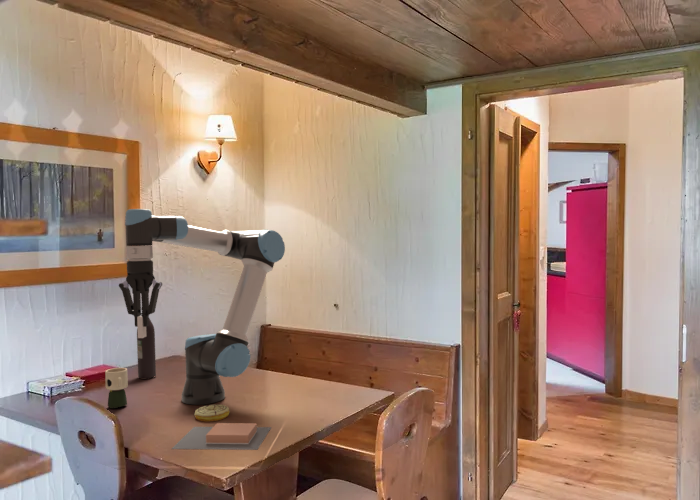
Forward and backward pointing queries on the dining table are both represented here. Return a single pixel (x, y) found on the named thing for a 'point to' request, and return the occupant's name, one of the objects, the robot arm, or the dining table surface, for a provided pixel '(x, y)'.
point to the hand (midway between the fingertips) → (142, 337)
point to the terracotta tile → (231, 433)
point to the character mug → (116, 386)
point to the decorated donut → (212, 412)
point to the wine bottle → (146, 353)
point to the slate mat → (198, 441)
